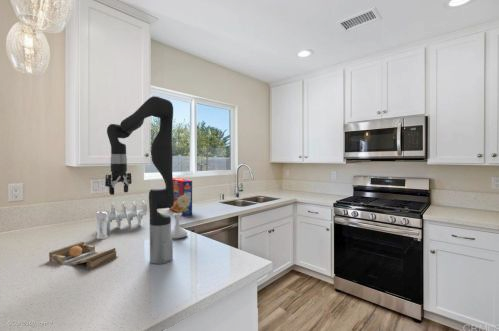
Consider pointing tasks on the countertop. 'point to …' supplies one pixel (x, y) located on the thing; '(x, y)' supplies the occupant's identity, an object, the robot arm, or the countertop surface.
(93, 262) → the ramp
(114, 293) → the countertop surface
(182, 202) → the flower in vase
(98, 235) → the beer glass
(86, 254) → the mat
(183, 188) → the cereal box
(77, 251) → the ball
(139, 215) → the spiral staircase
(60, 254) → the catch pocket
